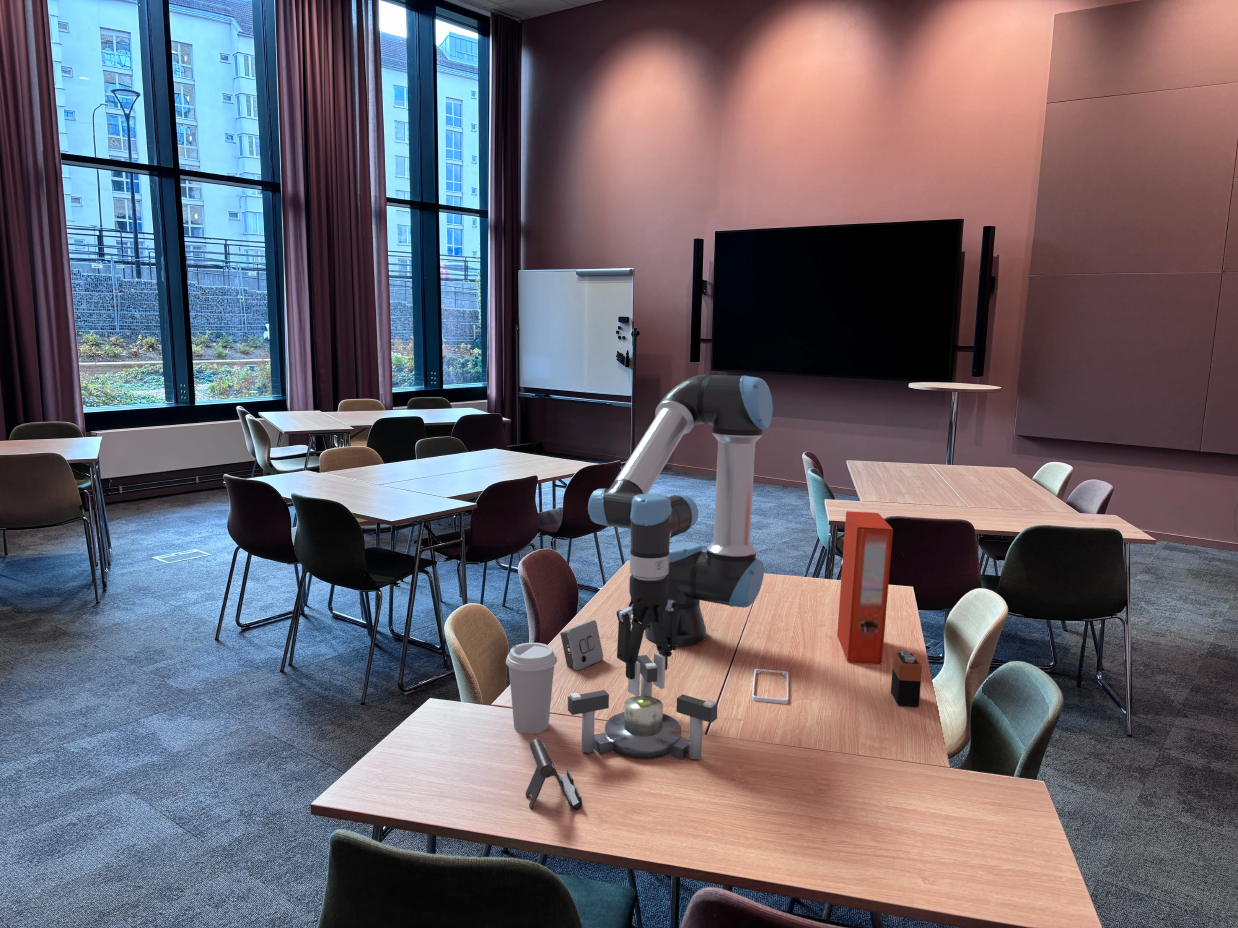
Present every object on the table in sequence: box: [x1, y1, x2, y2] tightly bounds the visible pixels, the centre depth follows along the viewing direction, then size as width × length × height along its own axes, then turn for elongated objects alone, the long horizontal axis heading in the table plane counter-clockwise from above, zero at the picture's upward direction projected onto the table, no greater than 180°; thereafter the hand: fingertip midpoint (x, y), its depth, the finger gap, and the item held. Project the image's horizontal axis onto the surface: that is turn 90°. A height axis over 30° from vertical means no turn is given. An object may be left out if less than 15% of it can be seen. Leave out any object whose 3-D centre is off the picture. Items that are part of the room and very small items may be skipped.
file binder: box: [836, 510, 894, 666], centre depth 196 cm, size 8×17×32 cm, turn 173°
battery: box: [890, 649, 923, 708], centre depth 171 cm, size 4×7×10 cm, turn 175°
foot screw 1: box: [567, 689, 610, 754], centre depth 147 cm, size 7×2×11 cm, turn 115°
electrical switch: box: [559, 619, 604, 671], centre depth 187 cm, size 9×5×9 cm, turn 141°
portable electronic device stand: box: [525, 738, 583, 812], centre depth 132 cm, size 9×8×8 cm
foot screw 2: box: [637, 654, 657, 697], centre depth 162 cm, size 7×2×11 cm, turn 15°
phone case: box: [751, 668, 789, 705], centre depth 177 cm, size 7×1×15 cm
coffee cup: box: [505, 642, 558, 735], centre depth 156 cm, size 10×10×15 cm
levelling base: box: [594, 695, 689, 760], centre depth 151 cm, size 18×16×8 cm
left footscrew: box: [675, 693, 718, 760], centre depth 145 cm, size 7×2×11 cm, turn 55°
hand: (646, 689), depth 162 cm, fingers open, 5 cm apart
